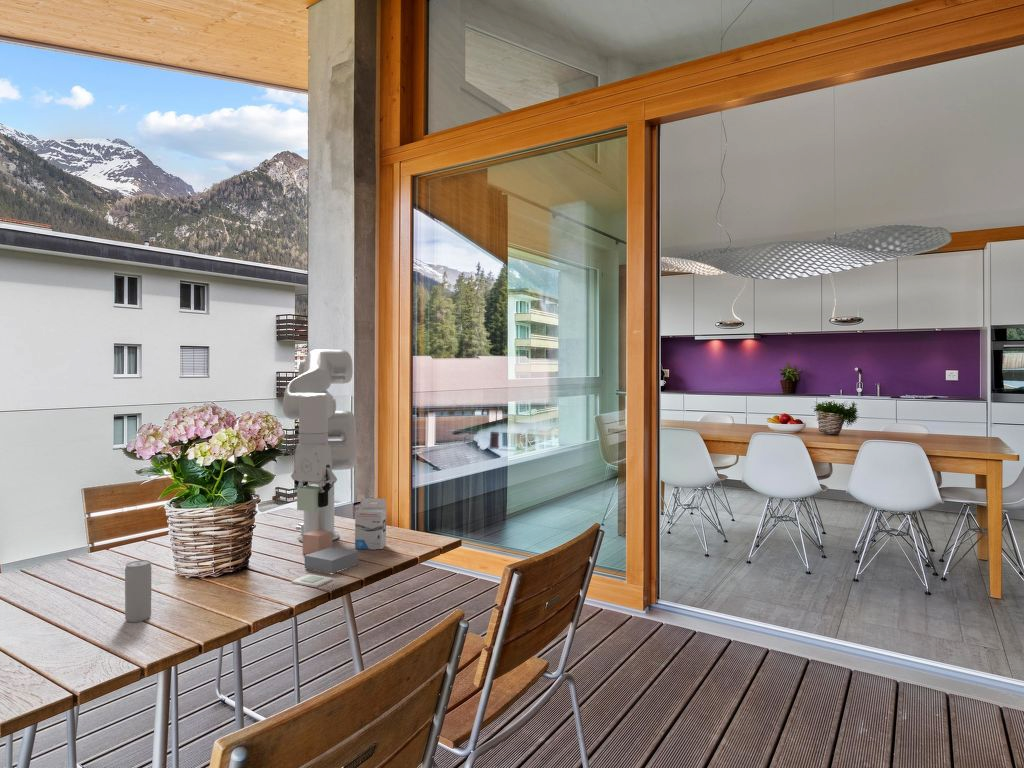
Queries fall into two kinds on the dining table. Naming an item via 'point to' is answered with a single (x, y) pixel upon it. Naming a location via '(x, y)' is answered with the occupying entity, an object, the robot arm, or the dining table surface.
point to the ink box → (370, 524)
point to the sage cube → (309, 498)
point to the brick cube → (316, 541)
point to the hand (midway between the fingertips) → (313, 504)
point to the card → (311, 580)
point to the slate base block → (331, 559)
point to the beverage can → (138, 591)
